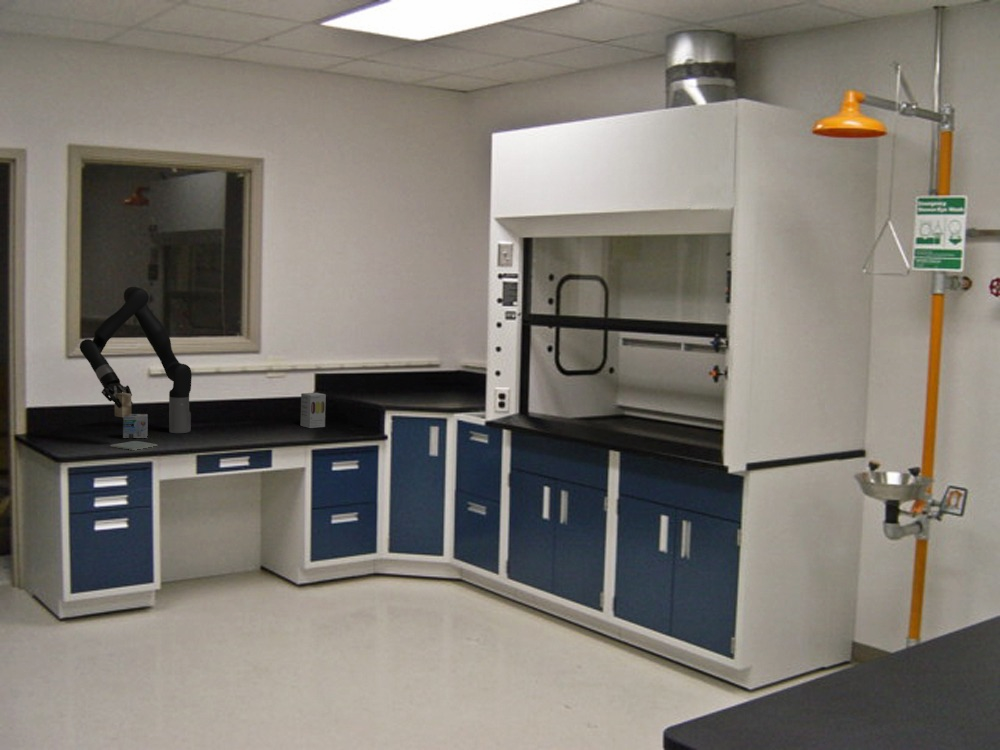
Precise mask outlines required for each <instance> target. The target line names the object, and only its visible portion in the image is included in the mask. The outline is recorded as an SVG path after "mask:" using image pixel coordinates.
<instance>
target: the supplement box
mask: <svg viewBox="0 0 1000 750" xmlns="http://www.w3.org/2000/svg"><path fill="white" fill-rule="evenodd" d="M300 395H301V396H300V426H301V427H304V428H309V429H314V428H325V427H326V404H327V403H326V399H327V398H326V397H327V395H326V394H325V393H320V392H308V393H307V392H305V393H304V392H302V393H301V394H300Z"/></svg>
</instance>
